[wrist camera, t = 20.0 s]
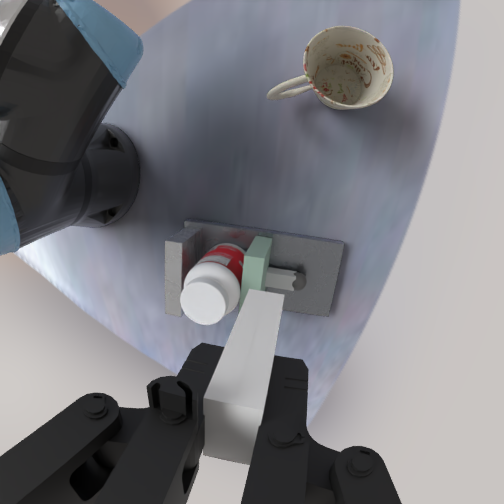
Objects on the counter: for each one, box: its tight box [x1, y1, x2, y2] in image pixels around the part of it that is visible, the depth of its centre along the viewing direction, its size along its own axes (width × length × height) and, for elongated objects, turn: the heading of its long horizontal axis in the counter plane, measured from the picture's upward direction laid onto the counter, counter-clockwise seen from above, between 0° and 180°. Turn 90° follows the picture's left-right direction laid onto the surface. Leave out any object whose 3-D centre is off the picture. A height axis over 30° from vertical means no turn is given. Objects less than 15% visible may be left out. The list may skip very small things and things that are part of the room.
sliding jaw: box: [238, 236, 307, 315], centre depth 36 cm, size 7×9×8 cm
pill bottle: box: [180, 243, 246, 325], centre depth 35 cm, size 6×6×11 cm
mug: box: [267, 26, 393, 110], centre depth 28 cm, size 8×13×10 cm, turn 111°
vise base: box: [165, 219, 344, 317], centre depth 37 cm, size 20×10×8 cm, turn 84°
